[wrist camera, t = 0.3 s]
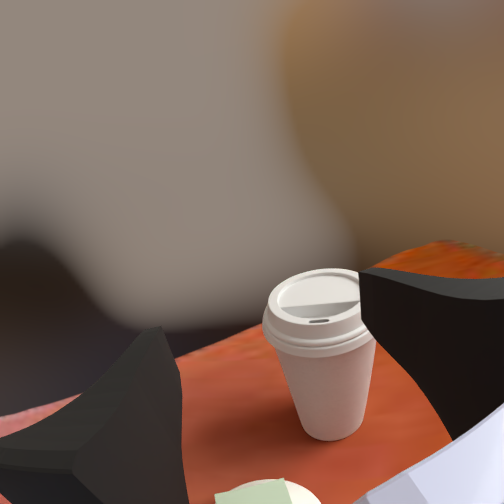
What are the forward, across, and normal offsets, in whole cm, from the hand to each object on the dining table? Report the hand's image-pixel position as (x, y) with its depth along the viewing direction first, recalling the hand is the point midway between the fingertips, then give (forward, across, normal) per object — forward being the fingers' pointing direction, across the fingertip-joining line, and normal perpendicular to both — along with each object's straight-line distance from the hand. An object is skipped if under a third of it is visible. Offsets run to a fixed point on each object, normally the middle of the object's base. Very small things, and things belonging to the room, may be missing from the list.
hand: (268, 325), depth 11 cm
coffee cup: (+11, -6, +20) cm, 24 cm away
